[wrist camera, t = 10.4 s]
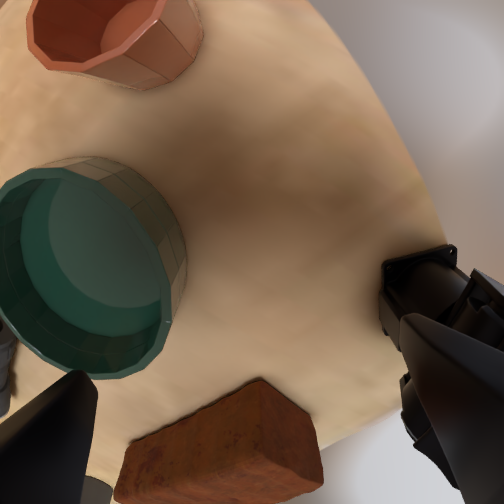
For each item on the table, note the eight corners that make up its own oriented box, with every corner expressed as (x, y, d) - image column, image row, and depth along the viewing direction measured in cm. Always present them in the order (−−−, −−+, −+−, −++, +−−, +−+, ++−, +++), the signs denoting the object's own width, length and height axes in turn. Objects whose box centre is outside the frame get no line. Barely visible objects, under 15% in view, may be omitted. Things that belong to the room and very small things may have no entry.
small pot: (191, -19, 14) (162, -85, 6) (212, 70, 16) (188, 31, 9) (93, 17, 14) (25, -20, 7) (108, 104, 17) (33, 98, 9)
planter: (152, 127, 17) (122, 128, 13) (212, 324, 23) (204, 371, 18) (-1, 193, 18) (-43, 211, 14) (63, 344, 24) (39, 380, 19)
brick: (108, 500, 21) (126, 441, 29) (172, 529, 24) (181, 473, 32) (261, 457, 17) (258, 372, 25) (329, 490, 19) (315, 417, 27)
